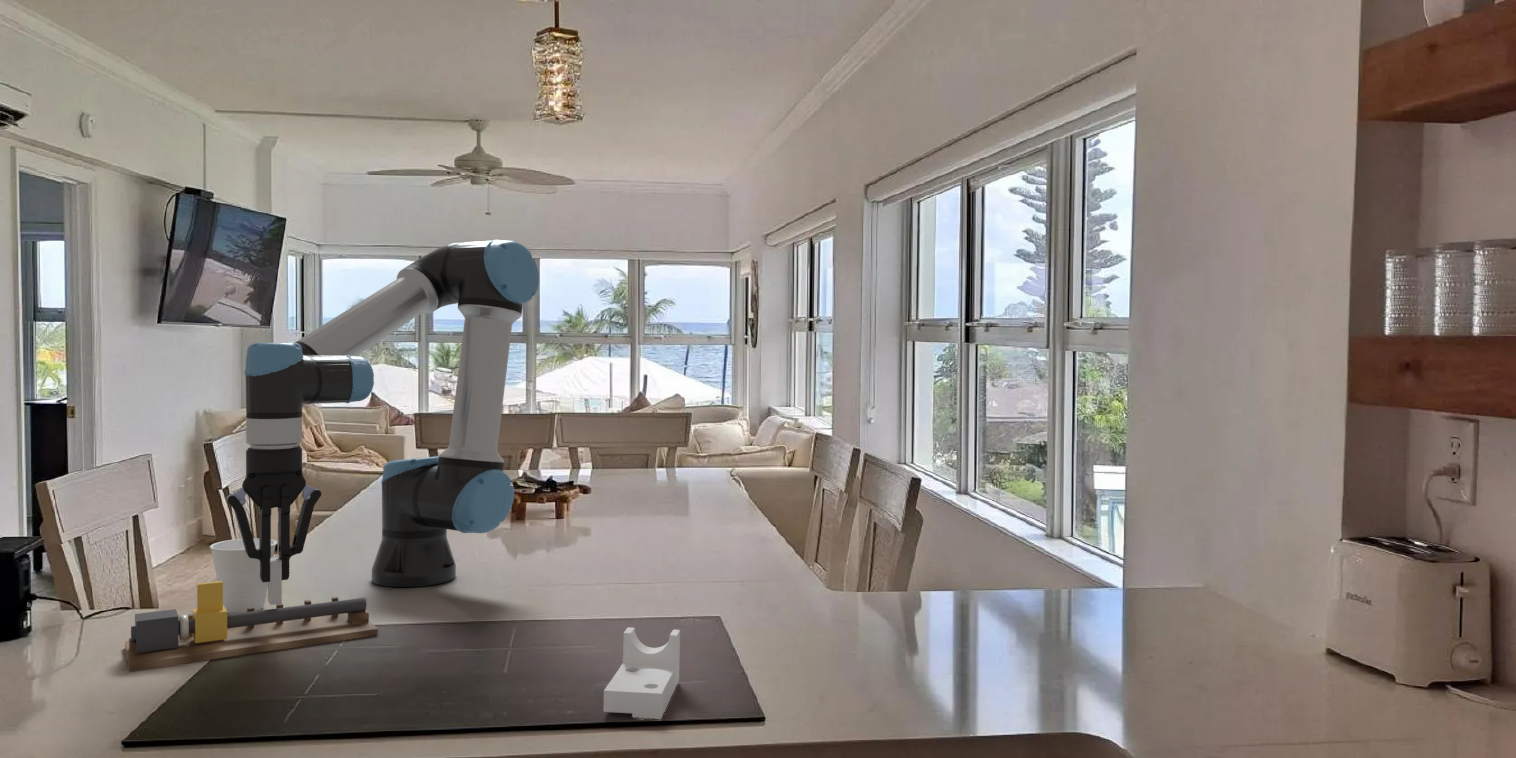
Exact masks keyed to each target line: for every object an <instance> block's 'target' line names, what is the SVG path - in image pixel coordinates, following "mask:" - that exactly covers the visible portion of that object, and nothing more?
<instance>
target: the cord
mask: <svg viewBox="0 0 1516 758" xmlns="http://www.w3.org/2000/svg"><path fill="white" fill-rule="evenodd" d="M365 610H366V611H367V599H366V597H361V598H360V597H359V598H351V599H343V600H338V601H334V602H332V601H326V602H319V603H311V604H310V605H304V604H302V605H294V606H288V607H283V608H277V609H276V608H270V609H261V610H259V611H253V612H245V613H237V614H229V613H228V614H227V629H228V628H236V627H244V626H251V625H259V624H267V623H274V622H282V621H290V620H297V619H305V618H313V617H320V616H328V615H336V614H343V613H351V612H359V611H365ZM188 620H189V634H190V633H195V619H188ZM178 635H180V621H179V631H178ZM130 638H131V641H136V626H135V625H134V626H133V625H132V626H131V627H130Z"/></svg>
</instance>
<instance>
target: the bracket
mask: <svg viewBox="0 0 1516 758" xmlns="http://www.w3.org/2000/svg"><path fill="white" fill-rule="evenodd" d="M622 639H623V640H622V641H623V644H622V645H623V647H622V649H623V651H622V652H623V653H622V664H621V665H620V667H619V668H618V670H617V671H616V673H615V674H614V675H613V676H612V678H611V679H610V681H609V683H608V684H607V685H606V687H605V688H604V689H603V710H602V712H604V713H619V714H620V713H621V714H631V718H632V717H639V718H642V717H643V718H655V719H661V718H662V716H663V713H664V712H665V713H666V711H667V709H666V707H667V705H668V703H669V701H670V698H671V696H672V694H673V692H674V690H675V687H676V685H677V684H678V681H679V682H680V655H681V654H680V653H681V652H680V650H681V649H680V647H681V646H680V645H681V644H680V643H681V630H680V629H672V631H670V634H669V638H668V641H667V642H666V643H665V644H664V645H661V646H659V647H658V646H657V647H652V646H651V647H649V646H647V645H646V644H643V643H642V642H641V641H640V640H639V638H638V635H637V634H636V628H635V627H627V628H626V629H625V630H624V632H623V638H622ZM670 702H671V701H670ZM669 704H670V703H669ZM668 706H669V705H668ZM667 708H668V707H667ZM665 710H666V711H665ZM665 713H664V714H665ZM663 717H664V716H663ZM662 719H663V718H662Z"/></svg>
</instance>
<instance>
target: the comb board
mask: <svg viewBox="0 0 1516 758" xmlns="http://www.w3.org/2000/svg"><path fill="white" fill-rule="evenodd" d="M334 601H339V597H338V596H332V597H331V602H334ZM310 604H312V600H311V599H307V600H304V603H303V605H310ZM275 605H276V608H275V609H277V608H284V604H283V603H282V604H275ZM253 611H254V607H247V612H253ZM369 614H370V613H369V611H368V610H367V609H366V610H365V611H359V612H351V613H343V614H336V615H328V616H320V617H313V618H305V619H297V620H290V621H282V622H274V623H267V624H259V625H251V626H244V627H236V628H228V629H227V639H223V640H215V641H208V642H201V643H195V641H194V639H193V633H190V634H189V637H188V639H183V640H180V639H179V635H178V647H177V648H170V649H163V650H155V651H148V652H141V653H136V641H131V637H130V638H128V640H125V642H124V649H125V654H126V662H127V667H128V672H134V671H142V670H147V669H148V670H149V669H155V668H162V667H168V666H169V667H170V666H176V665H181V664H183V665H184V664H189V663H190V664H191V663H197V662H202V661H203V662H204V661H211V660H217V659H222V658H230V657H238V656H244V655H250V654H257V653H265V652H273V651H279V650H286V649H291V648H299V647H307V646H313V645H319V644H320V645H321V644H327V643H333V642H340V641H347V639H348V640H352V639H351V638H355V639H362V638H367V637H368V636H369V637H374V636H373V635H376V636H379V633H378V631H379V630H378V627H377V626H376V625H374V623H372V622H371V620H370V619H369V618H370V617H369ZM187 615H188V619H193V613H189V614H187ZM369 637H368V638H369Z"/></svg>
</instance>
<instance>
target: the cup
mask: <svg viewBox="0 0 1516 758" xmlns="http://www.w3.org/2000/svg"><path fill="white" fill-rule="evenodd" d="M253 540H254V543H255V547H256V549H259V538H257V537H253ZM277 545H278V541H276V540H275V539H272V538H271V558H274V555H275V550H276V546H277ZM209 549H210V550H211V553H212V560H213V565H214V569H215V576H216V581H223V605H224V606H225V608H226V610H227V614H228V615H229V614H237V613H245V612H247V607H254V611H261V610H263V608H264V607H265V603H266V598H267V593H268V582H262V581H261V578H260V560H258V559H254V558H250V557H249V556H248V555H247V553H246V551H245V547H244V544H243V540H242V538H237V539H228V540H223V541H218V542H214V543H212V544H211V545H210V546H209Z"/></svg>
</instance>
